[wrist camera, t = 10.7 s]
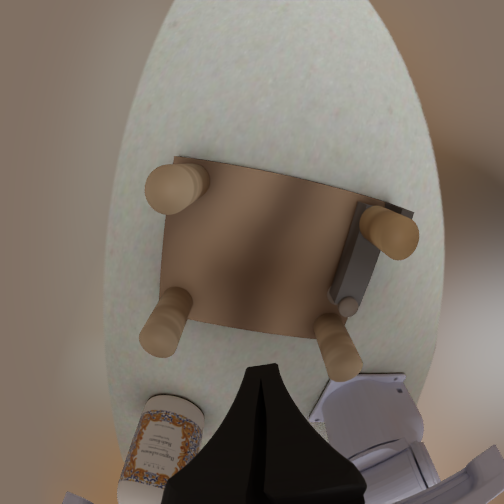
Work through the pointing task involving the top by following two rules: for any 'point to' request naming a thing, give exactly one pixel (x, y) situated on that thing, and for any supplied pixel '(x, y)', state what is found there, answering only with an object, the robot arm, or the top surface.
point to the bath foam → (160, 448)
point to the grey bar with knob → (370, 252)
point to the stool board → (251, 256)
